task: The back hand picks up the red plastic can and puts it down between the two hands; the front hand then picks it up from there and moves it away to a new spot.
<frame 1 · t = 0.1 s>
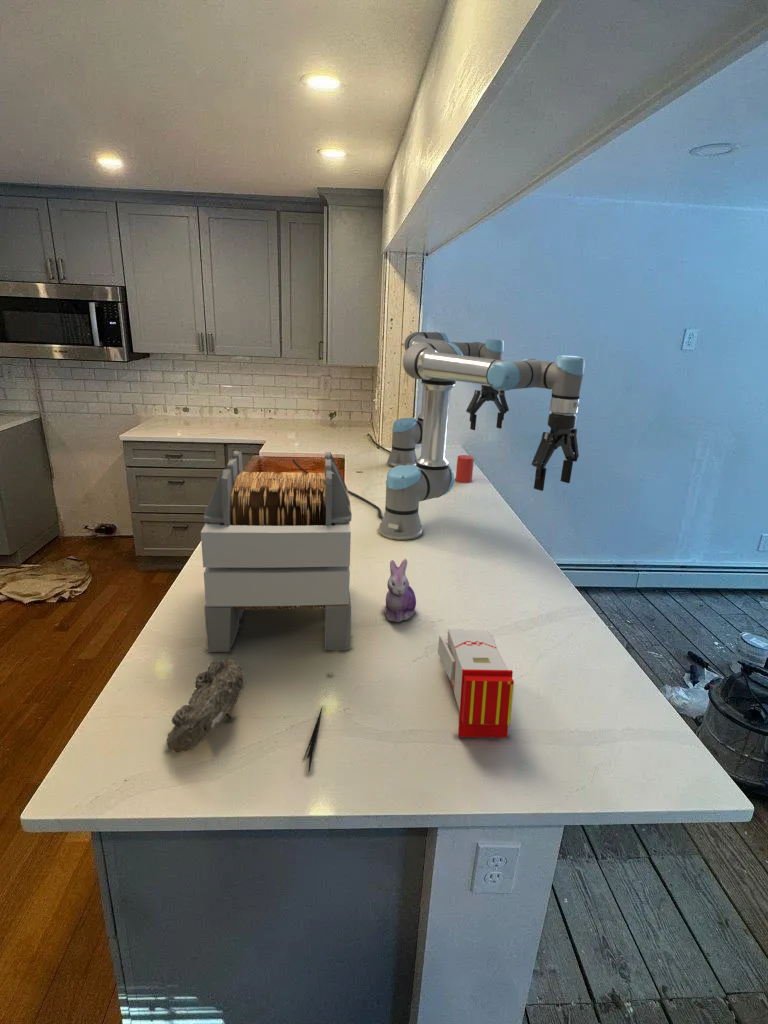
front hand: (552, 485, 166), 28 cm above the counter, tool pointing down, fingers open, 13 cm apart
back hand: (485, 428, 243), 28 cm above the counter, tool pointing down, fingers open, 13 cm apart
figurine: (399, 614, 147), on the counter
fossil: (212, 717, 108), on the counter
grey boxy piece: (283, 615, 144), on the counter
feather: (319, 719, 109), on the counter
can: (463, 480, 267), on the counter
toy: (469, 691, 119), on the counter
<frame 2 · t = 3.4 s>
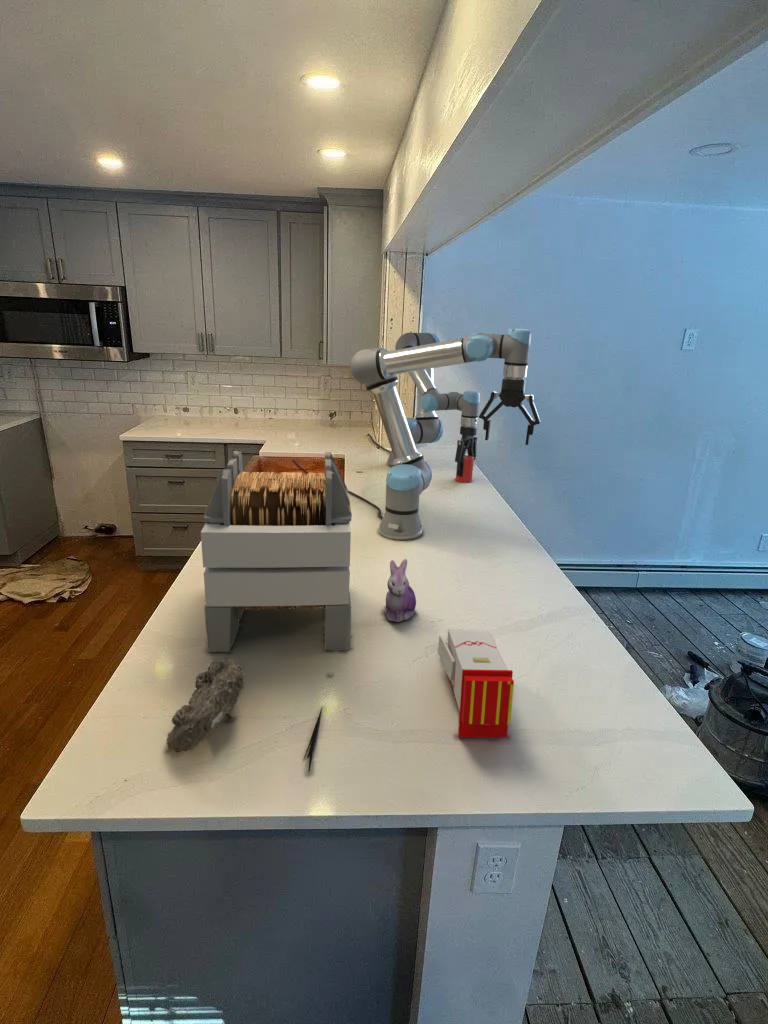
front hand: (506, 441, 193), 34 cm above the counter, tool pointing down, fingers open, 13 cm apart
back hand: (464, 474, 266), 3 cm above the counter, tool pointing down, fingers closed on can, 8 cm apart
can: (463, 480, 267), on the counter, touching back hand
everything else where it was.
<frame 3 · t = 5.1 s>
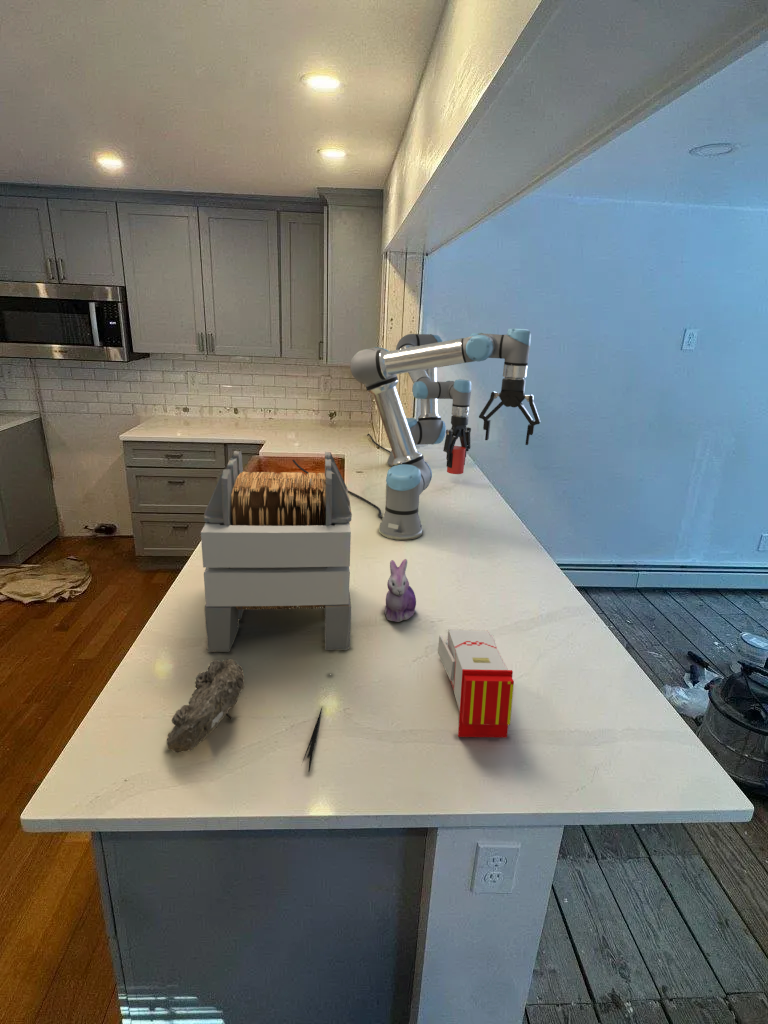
front hand: (506, 441, 193), 34 cm above the counter, tool pointing down, fingers open, 13 cm apart
back hand: (455, 465, 258), 9 cm above the counter, tool pointing down, fingers closed on can, 8 cm apart
can: (455, 472, 259), point 6 cm above the counter, touching back hand
everything else where it was.
when the back hand's fingers open (5 cm above the counter, at t = 6.8 s): can drops 2 cm, on the counter.
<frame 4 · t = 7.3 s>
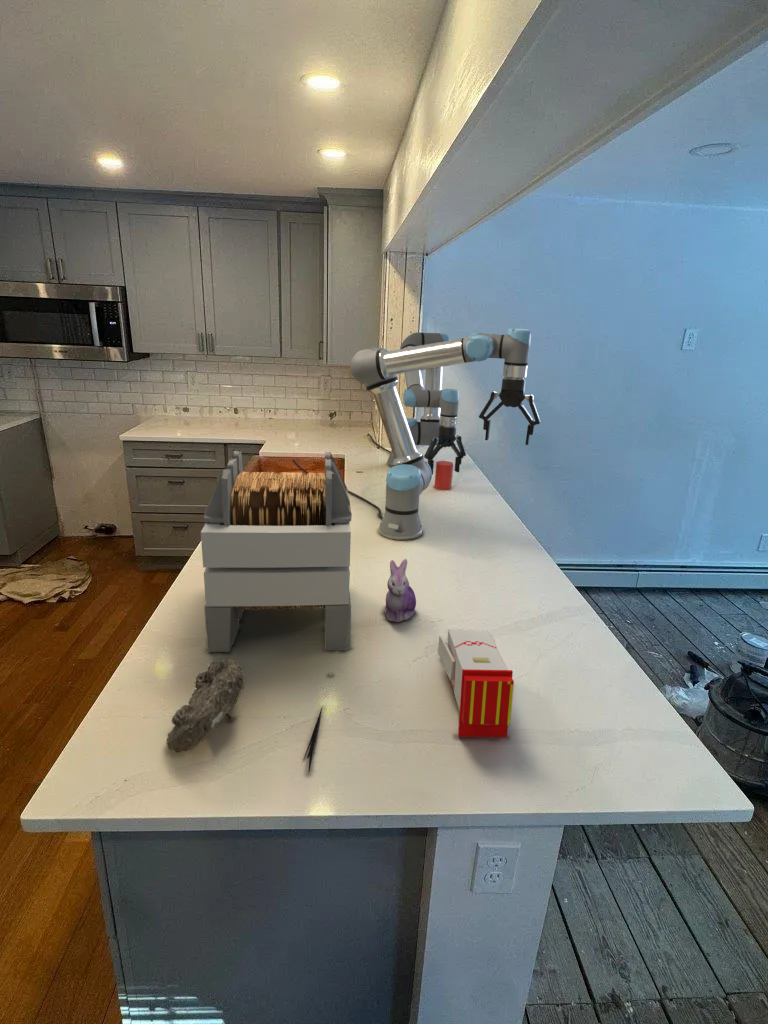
front hand: (506, 441, 193), 34 cm above the counter, tool pointing down, fingers open, 13 cm apart
back hand: (443, 472, 252), 7 cm above the counter, tool pointing down, fingers open, 13 cm apart
can: (442, 487, 255), on the counter
everything else where it was.
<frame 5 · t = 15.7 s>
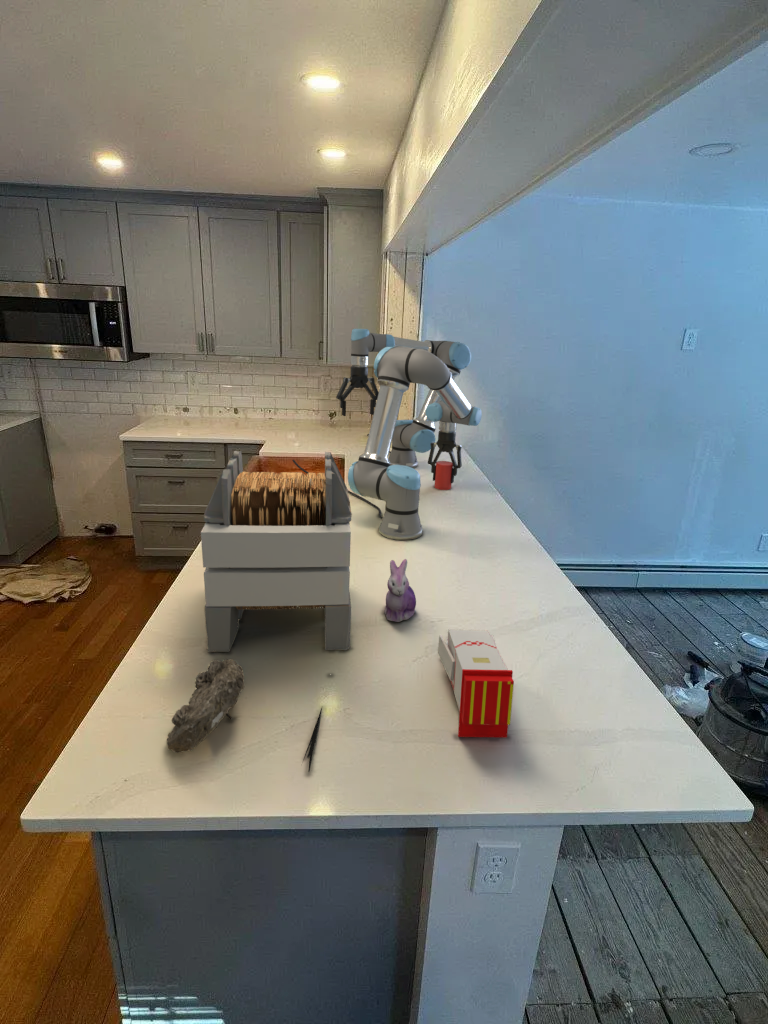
front hand: (443, 481, 254), 3 cm above the counter, tool pointing down, fingers closed on can, 8 cm apart
back hand: (358, 415, 253), 29 cm above the counter, tool pointing down, fingers open, 13 cm apart
can: (442, 487, 255), on the counter, touching front hand
everything else where it was.
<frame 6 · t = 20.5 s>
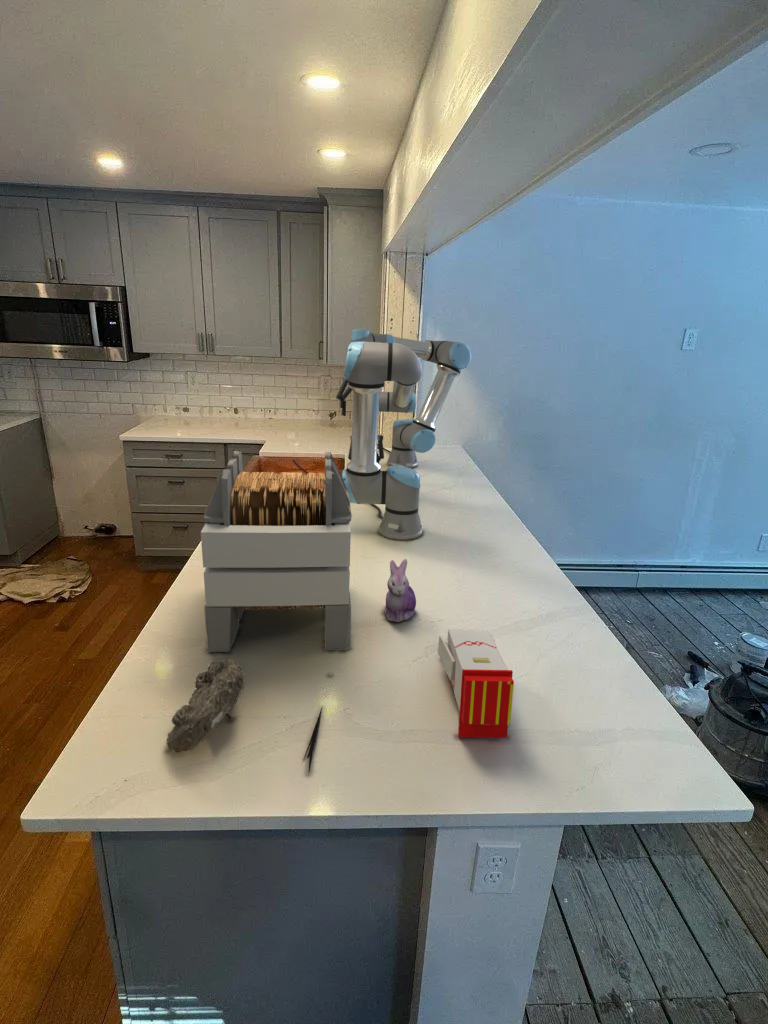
front hand: (365, 475, 237), 8 cm above the counter, tool pointing down, fingers closed on can, 8 cm apart
back hand: (358, 415, 253), 29 cm above the counter, tool pointing down, fingers open, 13 cm apart
can: (365, 482, 238), point 5 cm above the counter, touching front hand
everything else where it was.
when the front hand's fingers open (5 cm above the counter, at t = 25.3 s): can drops 2 cm, on the counter.
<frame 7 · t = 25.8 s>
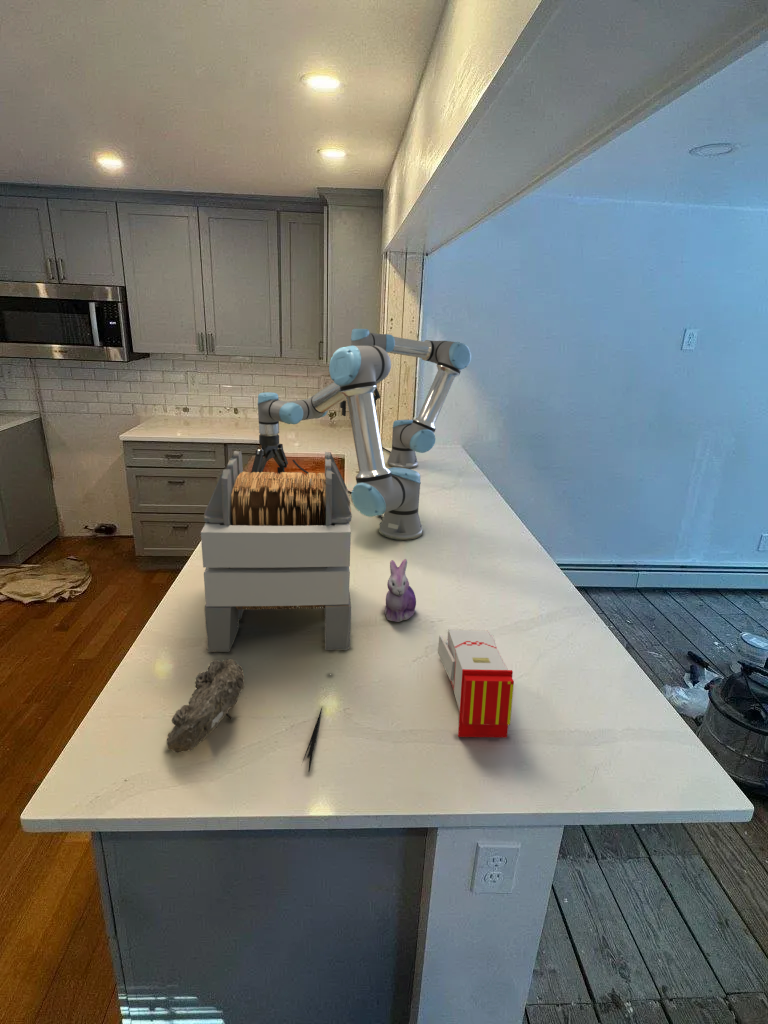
front hand: (270, 487, 222), 7 cm above the counter, tool pointing down, fingers open, 13 cm apart
back hand: (358, 415, 253), 29 cm above the counter, tool pointing down, fingers open, 13 cm apart
can: (270, 503, 225), on the counter
everything else where it was.
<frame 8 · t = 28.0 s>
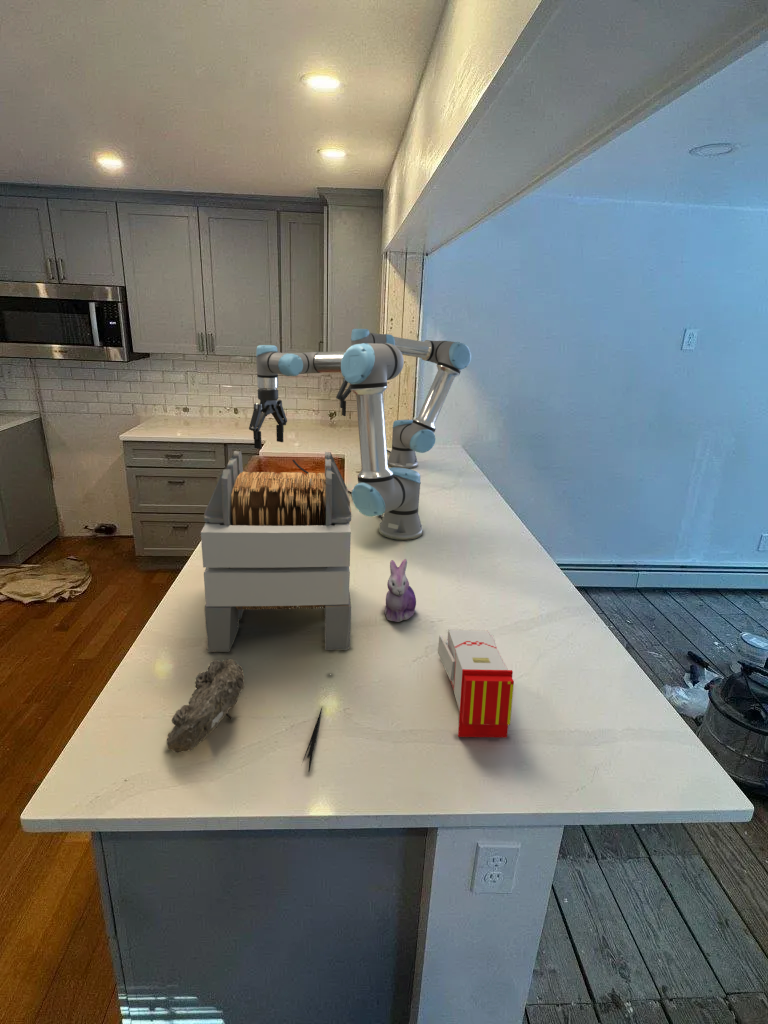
front hand: (269, 445, 216), 24 cm above the counter, tool pointing down, fingers open, 13 cm apart
back hand: (358, 415, 253), 29 cm above the counter, tool pointing down, fingers open, 13 cm apart
nothing on the counter moved.
at the end: can inside the target area (0.0 cm from its centre), on the counter; can tilted 0°; the two hands never held the can at the same time; the front hand is holding nothing; the back hand is holding nothing; can at rest at the end (0.0 cm/s) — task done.
